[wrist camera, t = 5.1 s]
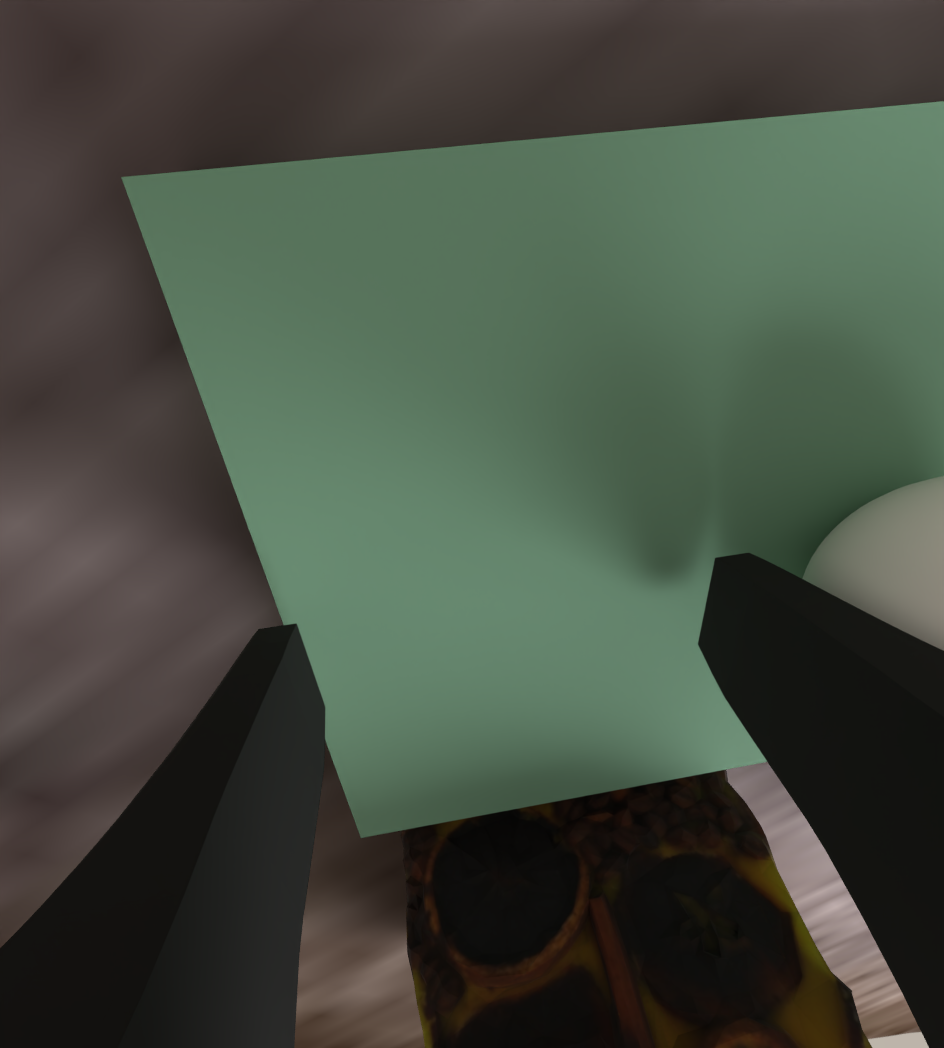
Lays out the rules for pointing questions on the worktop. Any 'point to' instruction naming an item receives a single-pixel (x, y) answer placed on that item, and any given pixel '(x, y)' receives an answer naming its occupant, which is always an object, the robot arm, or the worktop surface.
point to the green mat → (553, 421)
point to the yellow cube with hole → (616, 928)
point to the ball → (890, 560)
